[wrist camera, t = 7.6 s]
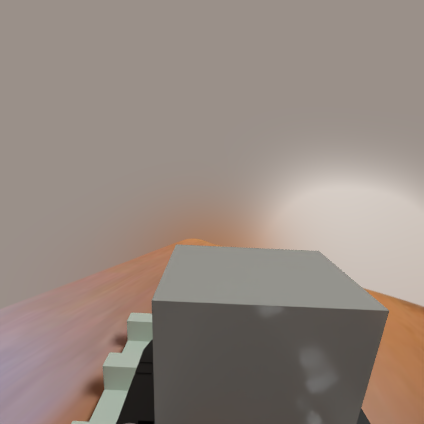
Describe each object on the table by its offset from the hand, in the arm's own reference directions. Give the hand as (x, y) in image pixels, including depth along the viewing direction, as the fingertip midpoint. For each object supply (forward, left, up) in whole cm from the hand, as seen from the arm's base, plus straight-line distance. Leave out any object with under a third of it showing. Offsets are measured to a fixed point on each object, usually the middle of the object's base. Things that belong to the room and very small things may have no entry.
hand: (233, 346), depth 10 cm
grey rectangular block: (0, +3, -7) cm, 7 cm away
